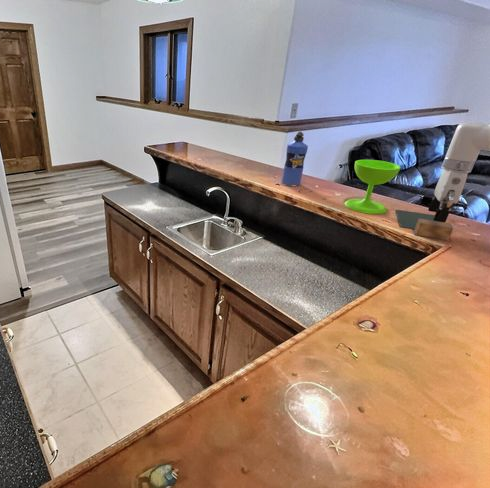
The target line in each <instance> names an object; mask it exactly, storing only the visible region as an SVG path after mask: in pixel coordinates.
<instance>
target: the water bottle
mask: <svg viewBox="0 0 490 488" xmlns="http://www.w3.org/2000/svg"><path fill="white" fill-rule="evenodd" d="M294 135H295V136H294V138H293V141H292V142H289V143H288V144H287V145H286V157H285V158H286V159H285V163H284V166H283V170H282V177H281V182H282V183H283V184H286V185H300V186H301V183H302V177H303V172H304V163H305V158H306V155H307V153H308V149H309V145H308V144H306V143H304V138H305V137H304V135H305V134H304V132H303V131H297V132H296V133H295V134H294ZM282 183H281V184H282ZM283 184H282V185H283ZM286 185H285V186H286Z"/></svg>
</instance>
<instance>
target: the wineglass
mask: <svg viewBox="0 0 490 488" xmlns="http://www.w3.org/2000/svg"><path fill="white" fill-rule="evenodd" d="M353 167H354V172H355V174H356V176H357V178H358V179H359V180H360V181H361V182H363V183H365V184H367V185H368V186H367V190H366V193H365V197H364V198H351V199H348V200H346V201H345V202H344V204H345V205H344V204H343V205H344V206H345V208H347V207H348V208H347V209H349V210H351V211H354V212H358V213H362V214H369V215H383V214H386V213H387V211H388V210H387V207H386V206H385V205H383V204H382V203H380V202H377V201H374V200H371V197H372V194H373V190H374V187H375V186H377V185H378V186H379V185H383V184H386V183H388V182H390V181H392V180H393V179H395V177H396V176H397V175H398V174H399V173H400V170H401V168H402V167H401V166H400V165H399V164H398V163H397V164H396V163H394V162H389V161H385V160H377V159H358V160H355V161H354V166H353Z"/></svg>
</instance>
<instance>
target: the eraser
mask: <svg viewBox="0 0 490 488" xmlns="http://www.w3.org/2000/svg"><path fill="white" fill-rule="evenodd" d="M453 230H454V227H453V225H452V224H451V223H450V222H438V221H432V220H425V219H418V221H417V224H416V227H415V229H414V230H412V229H411V231H412V233H413V236H414V237H415V236H416V237H421V238H425V239H426V238H427V239H432V240H438V241H444V242H451V240H450V237H451V234H452V232H453Z"/></svg>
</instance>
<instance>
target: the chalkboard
mask: <svg viewBox="0 0 490 488" xmlns="http://www.w3.org/2000/svg"><path fill="white" fill-rule="evenodd" d="M395 215H396V219H397V223H398V226H399V228H401V229H408V230H411V231H412V230H414V229H415V227H416V224H417V221H418V219H425V220H432V221H434V220H433V219H434V216H435V214H429V213H424V212H416V211H409V210H402V209H395Z"/></svg>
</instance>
